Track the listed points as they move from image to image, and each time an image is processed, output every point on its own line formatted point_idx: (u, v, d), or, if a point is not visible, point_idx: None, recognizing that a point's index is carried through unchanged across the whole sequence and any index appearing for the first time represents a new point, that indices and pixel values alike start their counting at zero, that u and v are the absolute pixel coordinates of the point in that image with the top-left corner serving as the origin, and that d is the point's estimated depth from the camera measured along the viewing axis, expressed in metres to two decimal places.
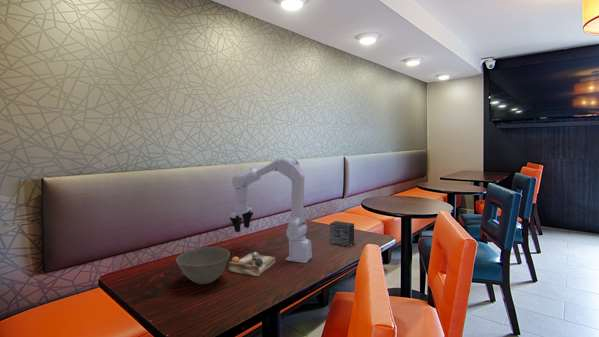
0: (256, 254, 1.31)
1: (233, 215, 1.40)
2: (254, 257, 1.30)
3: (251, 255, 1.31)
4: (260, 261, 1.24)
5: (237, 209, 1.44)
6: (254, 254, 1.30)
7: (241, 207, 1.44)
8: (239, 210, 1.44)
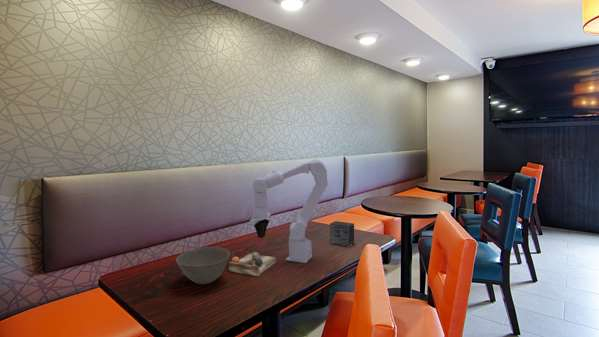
0: (256, 254, 1.31)
1: (252, 222, 1.29)
2: (254, 257, 1.30)
3: (251, 255, 1.31)
4: (260, 261, 1.24)
5: (256, 215, 1.33)
6: (254, 254, 1.30)
7: (261, 213, 1.32)
8: (258, 216, 1.33)
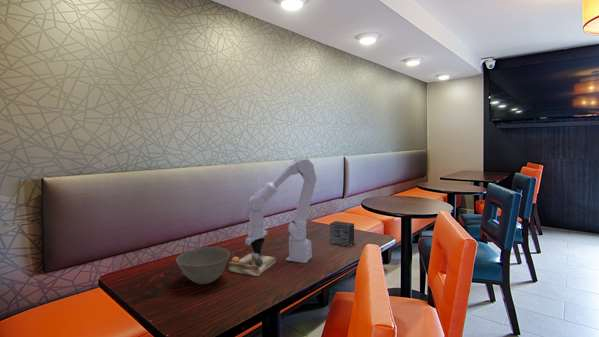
0: (256, 254, 1.30)
1: (248, 241, 1.26)
2: (254, 257, 1.30)
3: (251, 255, 1.31)
4: (260, 261, 1.24)
5: (252, 234, 1.30)
6: (254, 254, 1.30)
7: (257, 231, 1.30)
8: (254, 235, 1.30)
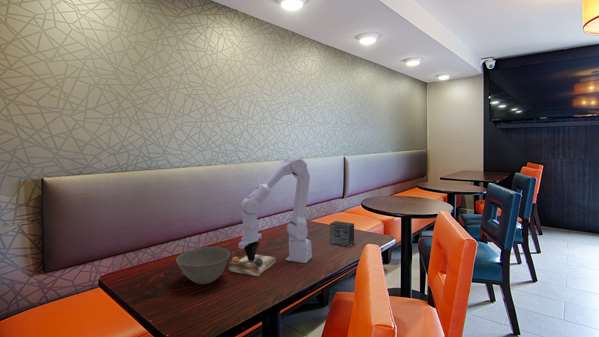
0: None
1: (241, 245, 1.21)
2: (252, 263, 1.26)
3: None
4: (260, 261, 1.24)
5: (245, 237, 1.26)
6: None
7: (250, 235, 1.25)
8: (248, 239, 1.25)
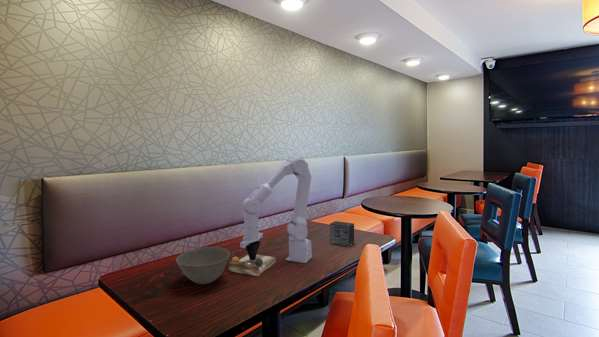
0: None
1: (243, 245, 1.22)
2: (251, 263, 1.26)
3: None
4: (260, 261, 1.24)
5: (247, 237, 1.27)
6: None
7: (252, 234, 1.26)
8: (249, 238, 1.26)
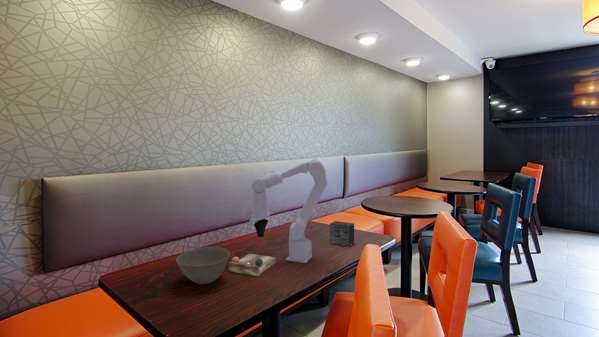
0: None
1: (252, 221, 1.29)
2: (250, 263, 1.26)
3: None
4: (260, 261, 1.24)
5: (256, 215, 1.34)
6: None
7: (260, 212, 1.33)
8: (258, 216, 1.33)
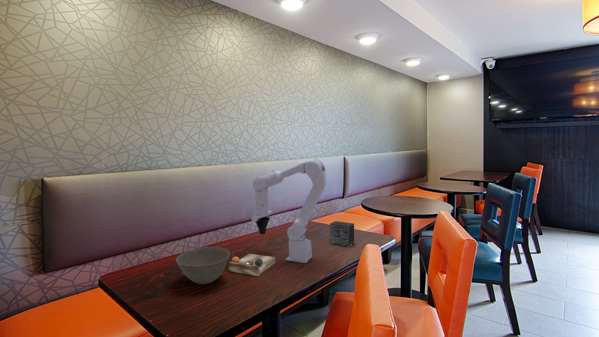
0: None
1: (254, 219, 1.34)
2: (248, 262, 1.26)
3: (246, 262, 1.27)
4: (260, 261, 1.24)
5: (258, 212, 1.38)
6: (250, 263, 1.27)
7: (262, 210, 1.37)
8: (260, 213, 1.38)
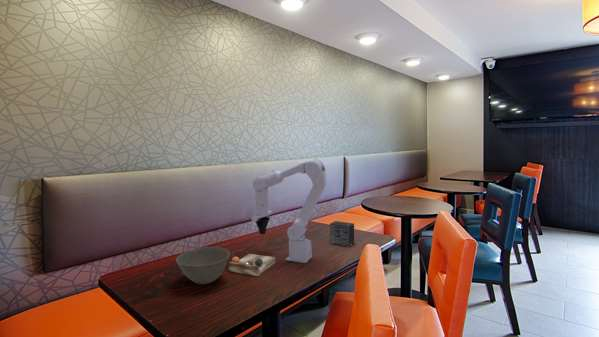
0: (250, 264, 1.26)
1: (254, 219, 1.34)
2: (248, 262, 1.26)
3: None
4: (260, 261, 1.24)
5: (258, 212, 1.38)
6: (249, 263, 1.27)
7: (262, 210, 1.37)
8: (260, 213, 1.38)
